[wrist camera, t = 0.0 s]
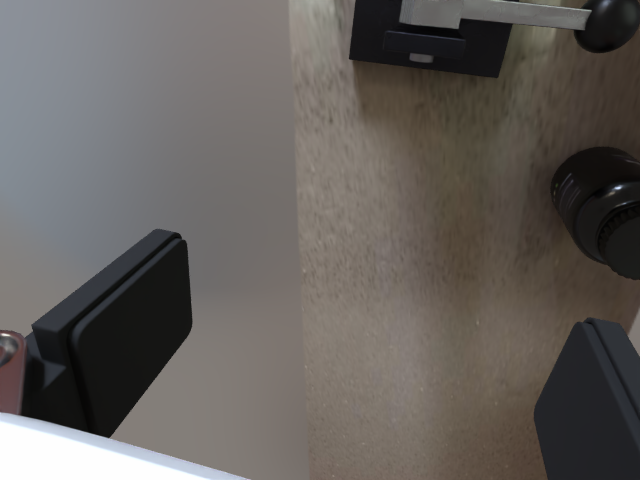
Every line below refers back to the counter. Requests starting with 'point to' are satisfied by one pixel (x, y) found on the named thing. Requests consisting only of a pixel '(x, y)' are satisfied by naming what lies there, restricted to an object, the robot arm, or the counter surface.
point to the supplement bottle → (602, 206)
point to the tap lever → (535, 18)
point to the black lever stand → (426, 41)
